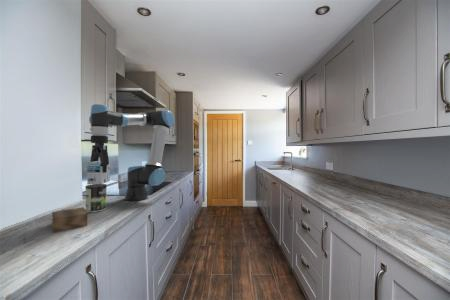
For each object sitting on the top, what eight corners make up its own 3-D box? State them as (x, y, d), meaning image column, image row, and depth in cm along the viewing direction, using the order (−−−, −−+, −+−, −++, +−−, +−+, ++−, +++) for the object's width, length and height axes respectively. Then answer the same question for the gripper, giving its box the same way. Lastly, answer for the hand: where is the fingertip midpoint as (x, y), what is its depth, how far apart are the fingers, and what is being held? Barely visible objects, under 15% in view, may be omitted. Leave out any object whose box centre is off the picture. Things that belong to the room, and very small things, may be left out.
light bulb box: (101, 184, 100) (101, 162, 99) (86, 184, 98) (86, 162, 98) (110, 181, 110) (110, 160, 110) (96, 181, 109) (96, 160, 109)
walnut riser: (83, 219, 103) (83, 207, 103) (87, 226, 94) (87, 213, 94) (52, 224, 95) (52, 212, 95) (53, 233, 86) (53, 218, 86)
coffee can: (110, 207, 123) (110, 183, 123) (99, 212, 112) (99, 187, 112) (93, 206, 123) (93, 183, 123) (80, 212, 113) (81, 186, 113)
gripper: (83, 135, 109) (83, 176, 109) (99, 134, 93) (99, 181, 93) (99, 136, 115) (98, 174, 115) (117, 135, 99) (116, 179, 99)
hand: (99, 177), depth 104 cm, fingers closed on light bulb box, 12 cm apart
